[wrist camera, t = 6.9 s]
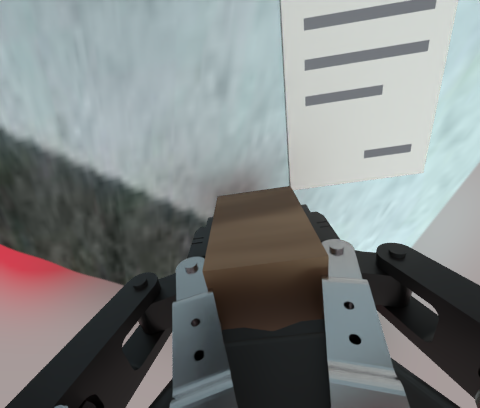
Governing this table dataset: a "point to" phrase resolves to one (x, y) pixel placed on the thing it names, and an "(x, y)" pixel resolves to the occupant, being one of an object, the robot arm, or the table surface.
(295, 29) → the letter
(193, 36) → the table surface
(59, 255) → the table surface
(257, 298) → the walnut block
